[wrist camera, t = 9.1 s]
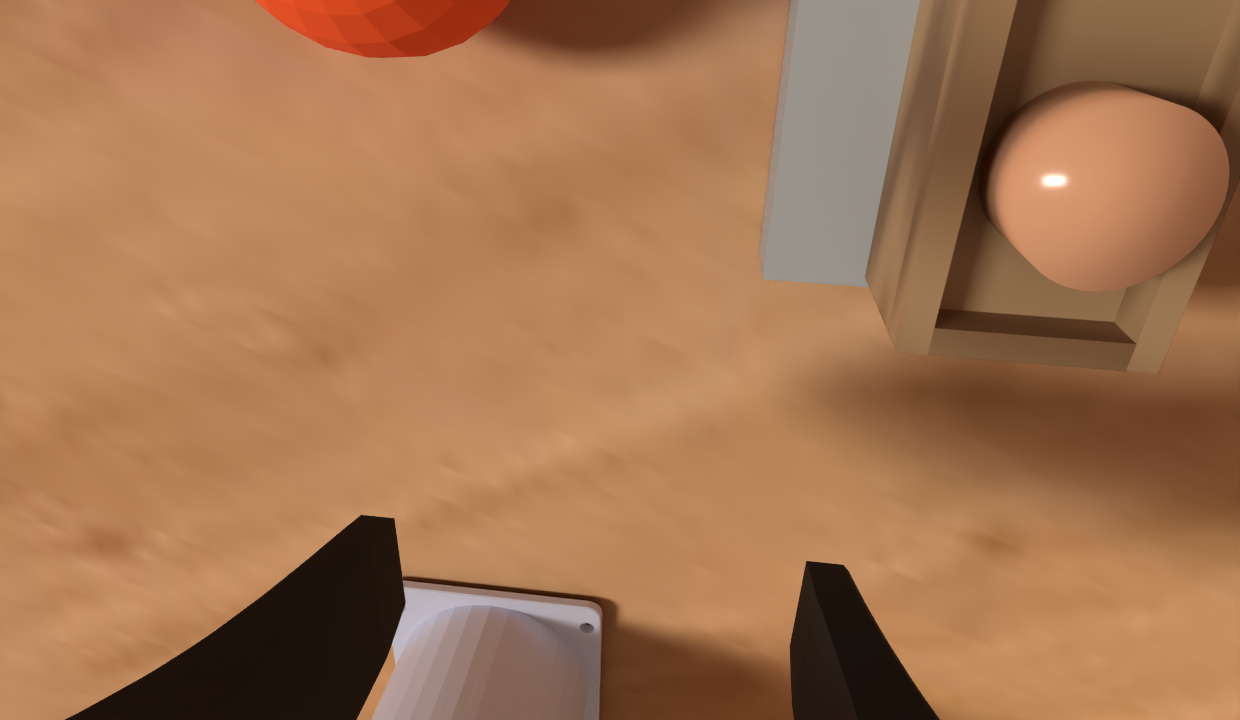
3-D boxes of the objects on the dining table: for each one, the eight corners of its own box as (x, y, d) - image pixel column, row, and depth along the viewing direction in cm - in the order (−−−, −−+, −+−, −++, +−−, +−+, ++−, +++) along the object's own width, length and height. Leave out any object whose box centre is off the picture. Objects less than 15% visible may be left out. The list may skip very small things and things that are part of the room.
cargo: (1106, 268, 15) (1159, 310, 14) (951, 229, 15) (984, 266, 13) (1199, 105, 14) (1273, 128, 12) (1027, 60, 14) (1076, 78, 12)
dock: (1144, 278, 20) (1211, 332, 18) (759, 251, 21) (765, 298, 18) (1298, -126, 16) (1421, -141, 13) (807, -140, 17) (824, -155, 14)
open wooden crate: (1076, 293, 19) (1158, 373, 15) (864, 277, 19) (896, 352, 16) (1197, -61, 15) (1340, -62, 12) (934, -71, 16) (995, -75, 12)
